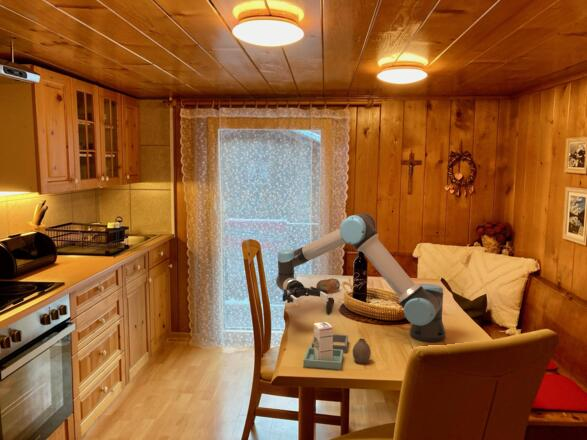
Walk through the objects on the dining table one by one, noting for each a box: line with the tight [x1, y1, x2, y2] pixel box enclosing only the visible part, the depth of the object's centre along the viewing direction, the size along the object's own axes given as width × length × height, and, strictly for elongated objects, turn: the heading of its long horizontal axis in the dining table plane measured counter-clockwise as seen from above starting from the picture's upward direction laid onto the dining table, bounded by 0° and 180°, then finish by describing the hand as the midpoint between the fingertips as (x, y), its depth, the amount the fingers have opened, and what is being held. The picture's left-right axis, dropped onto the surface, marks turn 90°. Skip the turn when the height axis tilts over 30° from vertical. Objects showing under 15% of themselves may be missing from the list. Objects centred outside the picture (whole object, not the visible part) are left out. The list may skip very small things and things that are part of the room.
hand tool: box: [325, 296, 335, 316], centre depth 248 cm, size 19×4×5 cm, turn 170°
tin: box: [315, 277, 341, 295], centre depth 277 cm, size 15×3×8 cm, turn 119°
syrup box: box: [313, 321, 334, 361], centre depth 183 cm, size 6×6×14 cm
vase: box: [352, 338, 372, 364], centre depth 185 cm, size 7×7×9 cm
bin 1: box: [311, 333, 349, 354], centre depth 200 cm, size 14×12×3 cm
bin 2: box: [302, 347, 344, 371], centre depth 184 cm, size 14×12×3 cm
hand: (312, 300), depth 198 cm, fingers open, 13 cm apart
